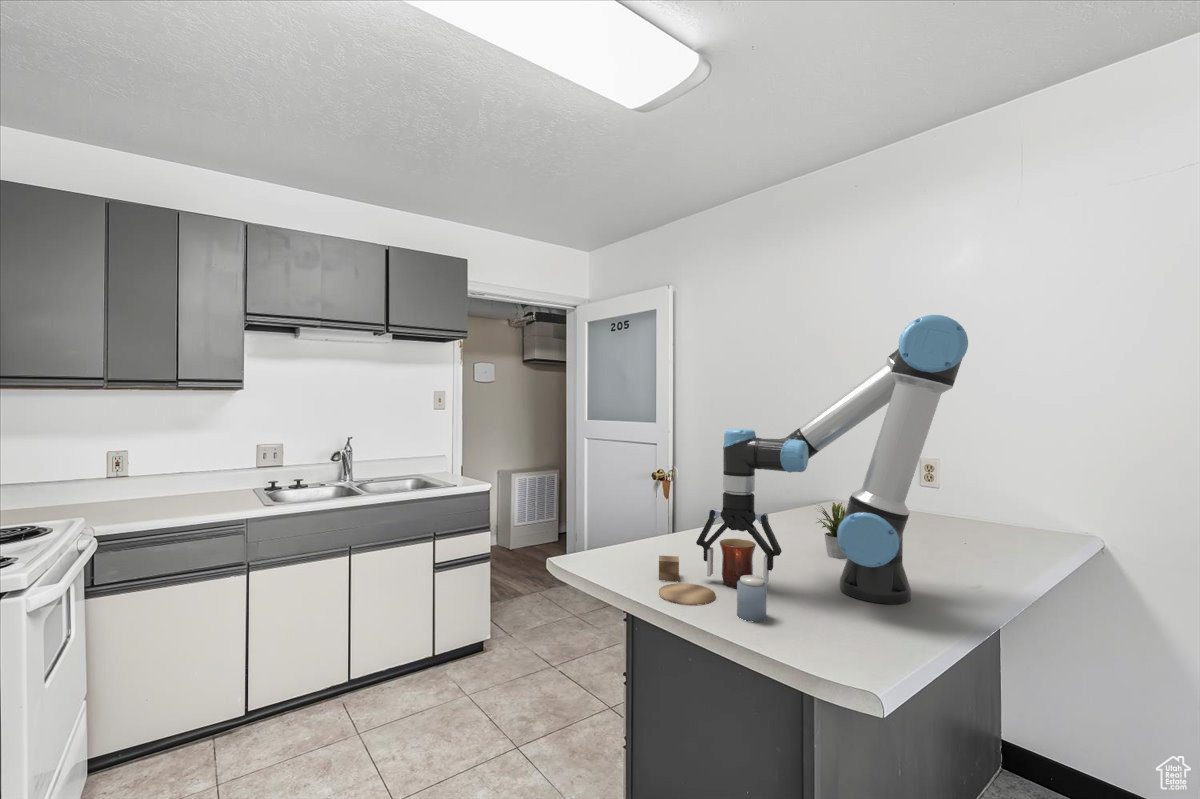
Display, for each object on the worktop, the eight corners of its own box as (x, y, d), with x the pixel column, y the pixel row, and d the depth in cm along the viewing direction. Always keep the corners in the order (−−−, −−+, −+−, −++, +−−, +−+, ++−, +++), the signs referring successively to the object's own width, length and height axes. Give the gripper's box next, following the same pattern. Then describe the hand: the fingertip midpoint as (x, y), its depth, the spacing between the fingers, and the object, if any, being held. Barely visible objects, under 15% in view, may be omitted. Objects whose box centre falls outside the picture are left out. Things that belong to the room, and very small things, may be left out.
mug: (718, 577, 142) (719, 537, 143) (754, 580, 141) (754, 539, 141) (719, 593, 131) (719, 549, 131) (757, 596, 129) (758, 551, 129)
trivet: (721, 591, 132) (721, 588, 132) (706, 609, 120) (706, 606, 120) (669, 582, 138) (669, 580, 138) (650, 598, 126) (650, 596, 126)
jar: (768, 614, 118) (769, 576, 118) (763, 624, 112) (764, 584, 113) (740, 609, 121) (740, 572, 121) (733, 618, 115) (734, 580, 115)
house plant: (804, 547, 174) (804, 495, 174) (850, 549, 172) (851, 497, 172) (815, 560, 160) (816, 503, 160) (866, 562, 158) (867, 505, 158)
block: (678, 575, 144) (678, 556, 144) (678, 581, 139) (678, 561, 139) (658, 574, 144) (659, 555, 144) (658, 580, 139) (658, 560, 139)
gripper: (794, 494, 134) (793, 582, 134) (693, 485, 145) (692, 567, 145) (789, 499, 127) (788, 591, 127) (684, 489, 138) (683, 575, 138)
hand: (737, 579), depth 136 cm, fingers open, 13 cm apart
